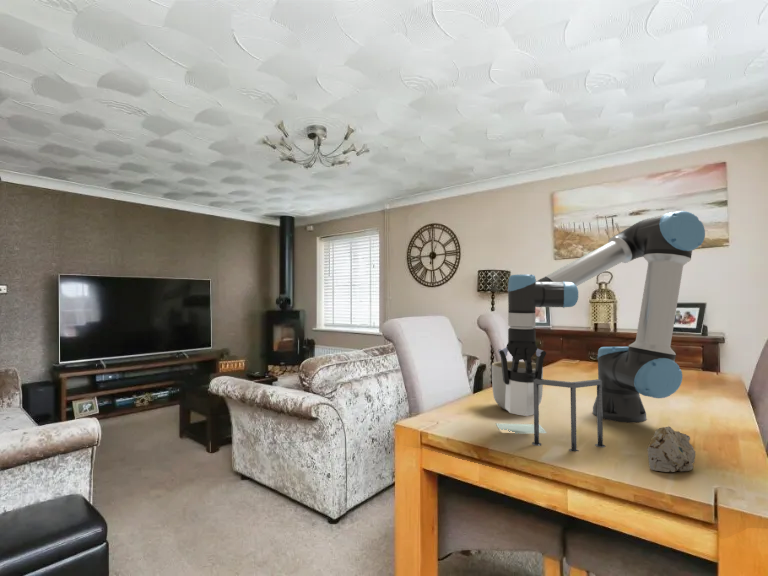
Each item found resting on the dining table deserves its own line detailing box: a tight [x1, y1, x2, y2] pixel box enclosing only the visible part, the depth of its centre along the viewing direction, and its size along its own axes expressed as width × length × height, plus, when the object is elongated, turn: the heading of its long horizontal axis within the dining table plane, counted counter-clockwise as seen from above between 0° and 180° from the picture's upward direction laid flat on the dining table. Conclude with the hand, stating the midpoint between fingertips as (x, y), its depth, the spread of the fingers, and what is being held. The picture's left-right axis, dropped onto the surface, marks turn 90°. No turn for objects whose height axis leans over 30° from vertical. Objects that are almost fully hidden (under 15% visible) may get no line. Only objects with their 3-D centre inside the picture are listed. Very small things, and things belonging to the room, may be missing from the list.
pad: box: [495, 423, 548, 435], centre depth 117 cm, size 13×13×1 cm
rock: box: [646, 425, 697, 473], centre depth 91 cm, size 12×7×10 cm, turn 111°
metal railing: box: [531, 378, 606, 452], centre depth 103 cm, size 18×6×18 cm, turn 85°
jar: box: [504, 368, 537, 417], centre depth 117 cm, size 9×8×12 cm
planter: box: [491, 360, 544, 411], centre depth 141 cm, size 17×17×15 cm
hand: (521, 408), depth 117 cm, fingers open, 3 cm apart
